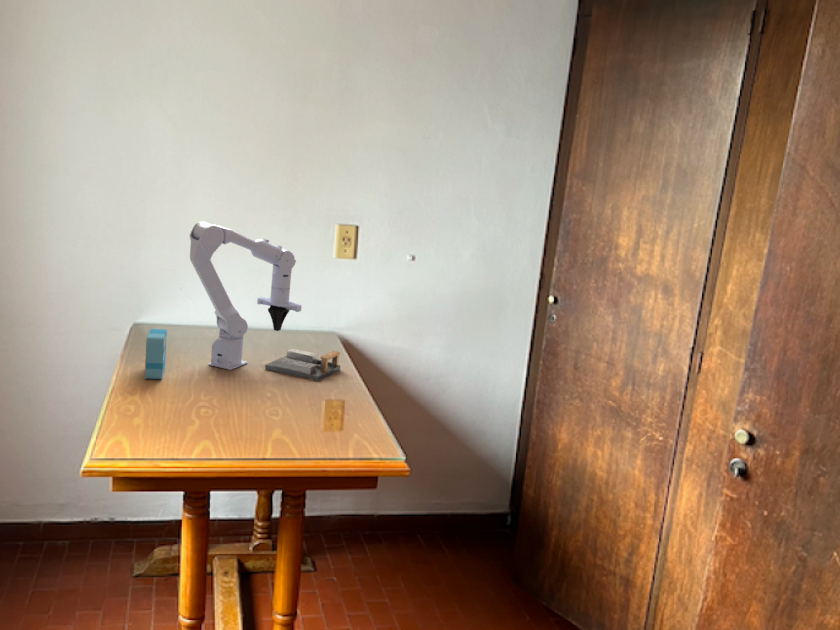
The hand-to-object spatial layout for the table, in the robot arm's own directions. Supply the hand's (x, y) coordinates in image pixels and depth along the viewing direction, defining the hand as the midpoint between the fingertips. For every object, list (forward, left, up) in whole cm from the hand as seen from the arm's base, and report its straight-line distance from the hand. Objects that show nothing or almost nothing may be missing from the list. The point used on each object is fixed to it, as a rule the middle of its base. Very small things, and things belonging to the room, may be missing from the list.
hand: (277, 330), depth 245 cm
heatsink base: (-3, -11, -10) cm, 15 cm away
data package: (-35, +19, -10) cm, 40 cm away
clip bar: (0, -9, -8) cm, 13 cm away
